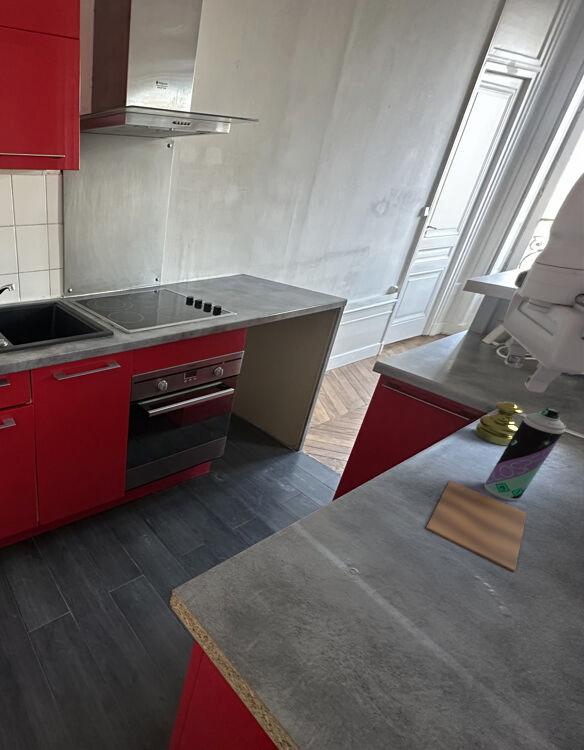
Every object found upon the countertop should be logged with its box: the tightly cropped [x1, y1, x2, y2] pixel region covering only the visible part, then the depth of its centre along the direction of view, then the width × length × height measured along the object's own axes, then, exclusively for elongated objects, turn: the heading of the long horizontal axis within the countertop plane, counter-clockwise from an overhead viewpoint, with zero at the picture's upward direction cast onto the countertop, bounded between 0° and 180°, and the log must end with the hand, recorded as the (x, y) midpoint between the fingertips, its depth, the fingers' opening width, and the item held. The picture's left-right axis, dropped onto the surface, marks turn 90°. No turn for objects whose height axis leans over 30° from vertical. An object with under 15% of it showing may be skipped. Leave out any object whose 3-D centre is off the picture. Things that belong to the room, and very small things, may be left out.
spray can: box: [483, 407, 567, 502], centre depth 81 cm, size 6×6×20 cm
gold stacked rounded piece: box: [473, 401, 525, 446], centre depth 101 cm, size 7×7×10 cm
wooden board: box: [425, 480, 528, 573], centre depth 78 cm, size 20×12×1 cm, turn 131°
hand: (521, 377), depth 62 cm, fingers open, 8 cm apart
